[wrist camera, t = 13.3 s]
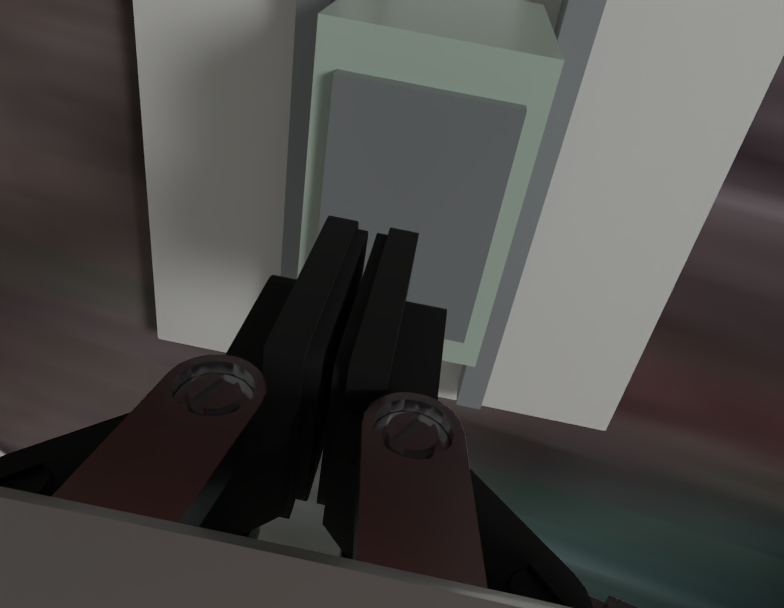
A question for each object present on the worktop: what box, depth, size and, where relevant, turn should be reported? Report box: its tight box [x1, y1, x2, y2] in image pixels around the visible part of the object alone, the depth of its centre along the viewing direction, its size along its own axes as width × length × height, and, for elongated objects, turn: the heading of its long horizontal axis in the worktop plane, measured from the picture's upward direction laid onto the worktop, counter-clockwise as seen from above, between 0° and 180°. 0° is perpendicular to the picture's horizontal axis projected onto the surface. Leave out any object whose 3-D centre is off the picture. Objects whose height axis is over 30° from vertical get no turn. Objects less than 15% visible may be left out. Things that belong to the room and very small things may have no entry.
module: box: [297, 0, 565, 367], centre depth 18 cm, size 5×8×7 cm, turn 171°
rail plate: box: [133, 0, 784, 431], centre depth 21 cm, size 20×24×3 cm
